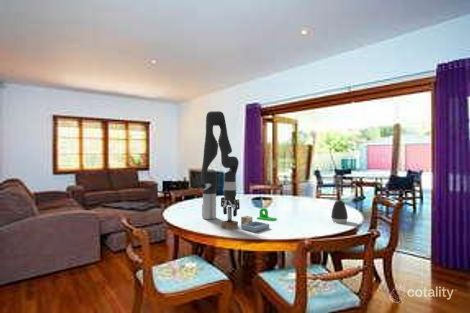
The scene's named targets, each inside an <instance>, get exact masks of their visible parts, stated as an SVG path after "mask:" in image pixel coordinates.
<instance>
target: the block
mask: <svg viewBox="0 0 470 313" xmlns="http://www.w3.org/2000/svg"><path fill="white" fill-rule="evenodd" d="M240 219H241V220H240V221H241V222H240V226H241V225H242V224H246V223H250V222H253V216H249V215H244V216H241V217H240Z"/></svg>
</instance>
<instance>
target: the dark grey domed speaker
mask: <svg viewBox="0 0 470 313" xmlns="http://www.w3.org/2000/svg"><path fill="white" fill-rule="evenodd" d="M345 204H346V203H345V202H344V201H343V200H340V199H337V200H336V201H335V202H334V204H333V206H332V209H331V216H330V217H331V220H332V221H333V223H335V222H336V224H345V223H346V222H347V220H348V219H349V217H348V216H349V214H348V211H347V207H346V205H345Z"/></svg>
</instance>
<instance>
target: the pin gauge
mask: <svg viewBox="0 0 470 313" xmlns="http://www.w3.org/2000/svg"><path fill="white" fill-rule="evenodd" d="M227 220H228V222H229V223H230V222H232V220H233V208H232V207H231V206H227Z"/></svg>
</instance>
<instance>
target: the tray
mask: <svg viewBox="0 0 470 313" xmlns="http://www.w3.org/2000/svg"><path fill="white" fill-rule="evenodd" d="M240 227H241V229H240V230H242V231H247V232H251V233H254V234H257V233H259V232H263V231H266V230H269V229H270V223H266V222H262V221H261V222H260V221H252V222H250V223H246V224H242V225H241V224H240Z"/></svg>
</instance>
